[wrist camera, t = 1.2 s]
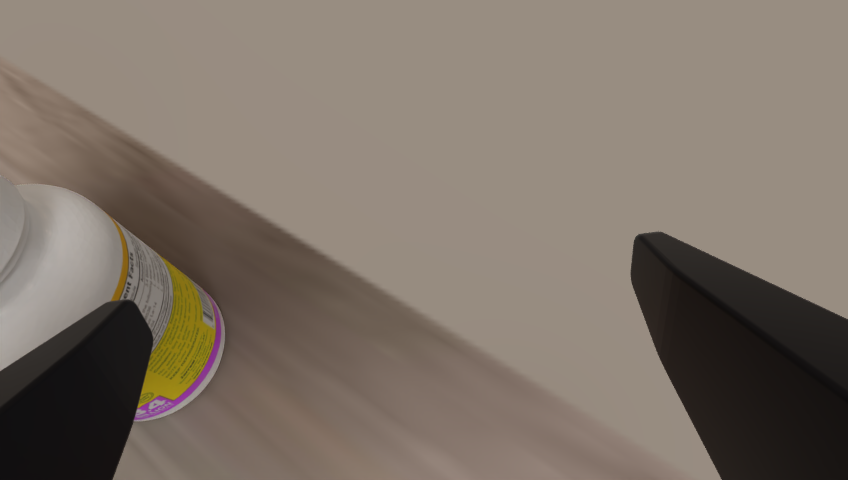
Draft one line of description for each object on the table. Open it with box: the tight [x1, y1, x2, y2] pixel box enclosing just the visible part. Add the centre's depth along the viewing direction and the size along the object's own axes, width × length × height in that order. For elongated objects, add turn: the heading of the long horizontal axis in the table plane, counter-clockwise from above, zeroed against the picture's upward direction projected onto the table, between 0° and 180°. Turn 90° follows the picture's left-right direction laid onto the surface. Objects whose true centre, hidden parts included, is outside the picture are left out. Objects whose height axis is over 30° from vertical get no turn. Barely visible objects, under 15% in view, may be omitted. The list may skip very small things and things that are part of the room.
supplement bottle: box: [0, 175, 225, 421], centre depth 19 cm, size 7×7×13 cm
